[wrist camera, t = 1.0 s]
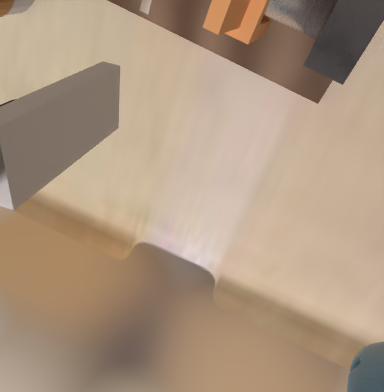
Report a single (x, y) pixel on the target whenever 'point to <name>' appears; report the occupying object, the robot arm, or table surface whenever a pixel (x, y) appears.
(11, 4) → the coffee cup
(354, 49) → the pipe
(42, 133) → the robot arm
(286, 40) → the base board
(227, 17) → the orange slotted block
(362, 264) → the table surface
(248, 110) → the table surface
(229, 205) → the table surface
